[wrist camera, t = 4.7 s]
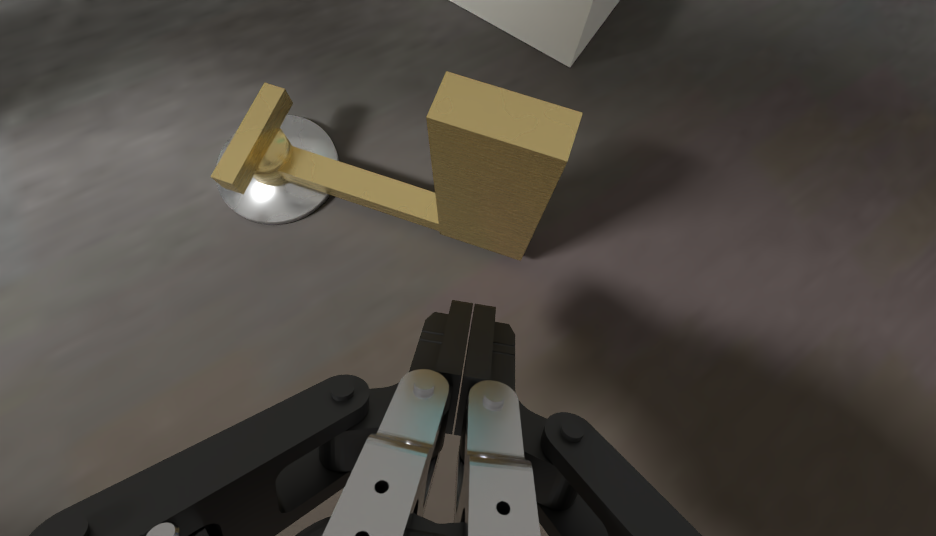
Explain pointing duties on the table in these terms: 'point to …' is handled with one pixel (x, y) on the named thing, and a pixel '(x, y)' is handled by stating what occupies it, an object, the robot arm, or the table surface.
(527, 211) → the key lever
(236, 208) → the key socket
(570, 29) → the housing
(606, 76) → the table surface
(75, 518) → the robot arm
